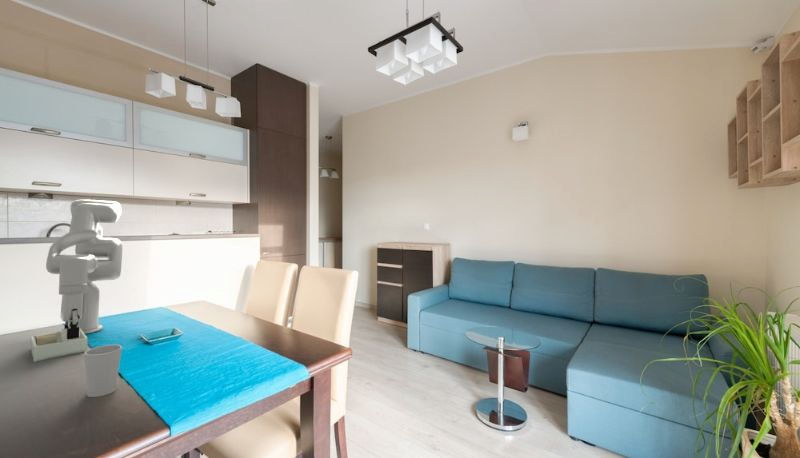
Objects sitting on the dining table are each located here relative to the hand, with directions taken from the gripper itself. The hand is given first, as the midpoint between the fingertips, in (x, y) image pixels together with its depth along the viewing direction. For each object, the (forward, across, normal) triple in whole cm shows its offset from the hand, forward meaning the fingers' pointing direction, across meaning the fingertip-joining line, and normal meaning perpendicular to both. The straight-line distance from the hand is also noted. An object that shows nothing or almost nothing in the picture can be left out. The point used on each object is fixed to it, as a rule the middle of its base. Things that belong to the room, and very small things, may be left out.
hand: (71, 335), depth 121 cm
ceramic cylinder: (+4, 0, 0) cm, 4 cm away
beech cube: (+5, -5, -6) cm, 9 cm away
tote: (+5, -2, -3) cm, 6 cm away
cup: (+5, +49, +1) cm, 49 cm away
